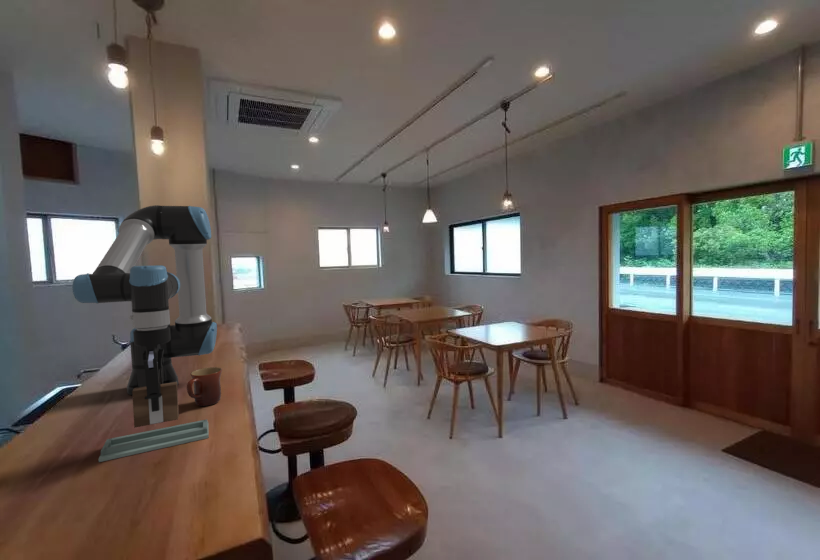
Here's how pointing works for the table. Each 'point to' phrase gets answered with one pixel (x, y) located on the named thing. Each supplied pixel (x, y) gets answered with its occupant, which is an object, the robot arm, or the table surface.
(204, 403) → the mug
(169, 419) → the slider block
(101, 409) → the table surface
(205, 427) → the track base
